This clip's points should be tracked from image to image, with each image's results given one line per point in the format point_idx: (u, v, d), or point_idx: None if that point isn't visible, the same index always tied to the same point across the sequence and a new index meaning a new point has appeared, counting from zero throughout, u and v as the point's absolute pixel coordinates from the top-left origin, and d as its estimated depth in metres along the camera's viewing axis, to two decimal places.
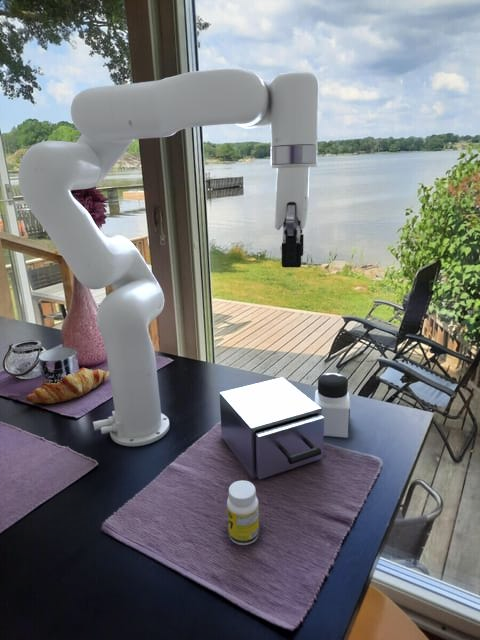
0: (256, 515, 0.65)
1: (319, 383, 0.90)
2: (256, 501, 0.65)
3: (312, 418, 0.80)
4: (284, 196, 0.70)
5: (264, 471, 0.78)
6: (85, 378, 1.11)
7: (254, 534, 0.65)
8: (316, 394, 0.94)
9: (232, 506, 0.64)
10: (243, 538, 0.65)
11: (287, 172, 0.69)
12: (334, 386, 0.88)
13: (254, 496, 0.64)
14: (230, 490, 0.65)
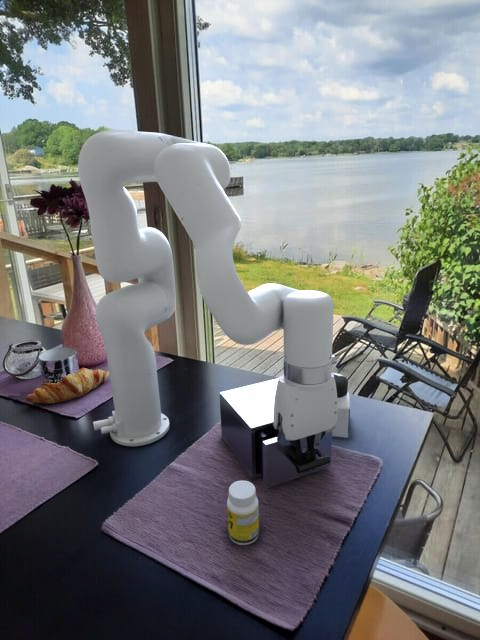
0: (256, 515, 0.65)
1: None
2: (256, 501, 0.65)
3: None
4: (276, 405, 0.71)
5: (271, 480, 0.76)
6: (85, 378, 1.11)
7: (254, 534, 0.65)
8: None
9: (232, 506, 0.64)
10: (243, 538, 0.65)
11: (279, 385, 0.69)
12: None
13: (254, 496, 0.64)
14: (230, 490, 0.65)
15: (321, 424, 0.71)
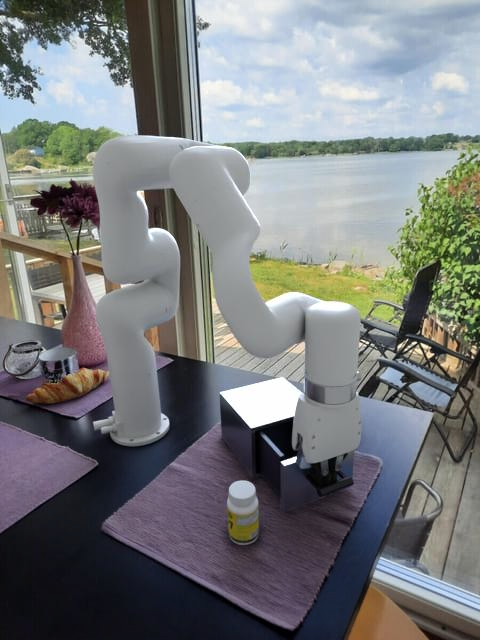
0: (256, 515, 0.65)
1: None
2: (256, 501, 0.65)
3: None
4: (296, 425, 0.65)
5: (289, 503, 0.70)
6: (85, 378, 1.11)
7: (254, 534, 0.65)
8: None
9: (232, 506, 0.64)
10: (243, 539, 0.65)
11: (300, 404, 0.64)
12: None
13: (254, 496, 0.64)
14: (230, 490, 0.65)
15: (344, 445, 0.66)
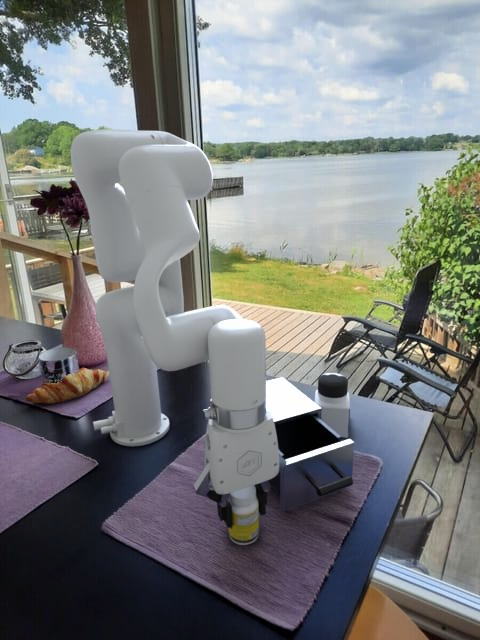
0: (256, 515, 0.65)
1: (319, 383, 0.90)
2: (256, 501, 0.65)
3: (341, 443, 0.73)
4: None
5: (289, 502, 0.70)
6: (85, 378, 1.11)
7: (254, 534, 0.65)
8: (316, 394, 0.94)
9: (232, 506, 0.64)
10: (243, 539, 0.65)
11: None
12: (334, 386, 0.88)
13: (254, 496, 0.64)
14: None
15: None
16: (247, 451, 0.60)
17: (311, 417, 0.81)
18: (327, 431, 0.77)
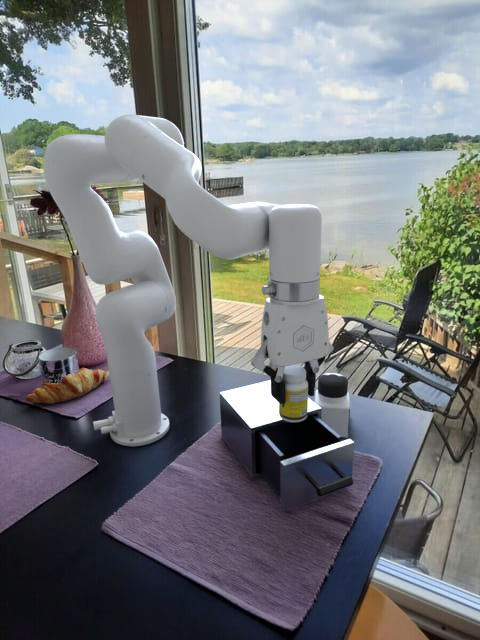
0: (306, 394, 0.71)
1: (319, 383, 0.90)
2: (306, 381, 0.71)
3: (341, 443, 0.73)
4: None
5: (289, 502, 0.70)
6: (85, 378, 1.11)
7: (304, 413, 0.71)
8: (316, 394, 0.94)
9: (285, 384, 0.70)
10: (294, 415, 0.71)
11: None
12: (334, 386, 0.88)
13: (305, 375, 0.70)
14: None
15: None
16: (302, 326, 0.66)
17: (311, 417, 0.81)
18: (327, 431, 0.77)
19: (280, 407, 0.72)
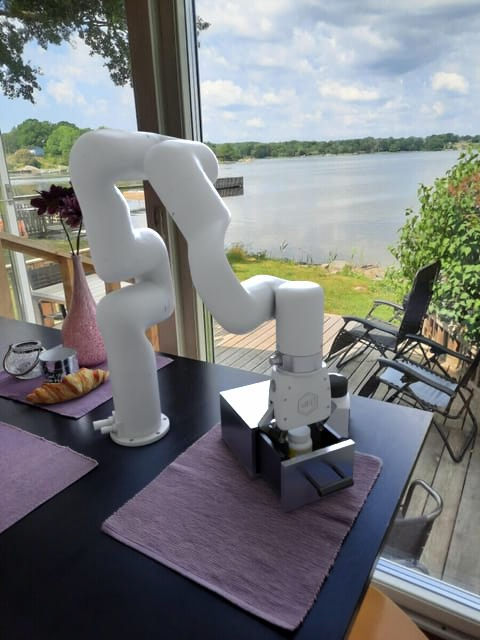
0: None
1: None
2: (310, 440, 0.76)
3: (342, 443, 0.72)
4: None
5: (290, 503, 0.70)
6: (85, 378, 1.11)
7: None
8: None
9: (291, 443, 0.75)
10: None
11: None
12: (334, 386, 0.88)
13: (309, 435, 0.75)
14: None
15: None
16: (306, 393, 0.71)
17: None
18: (327, 431, 0.77)
19: None
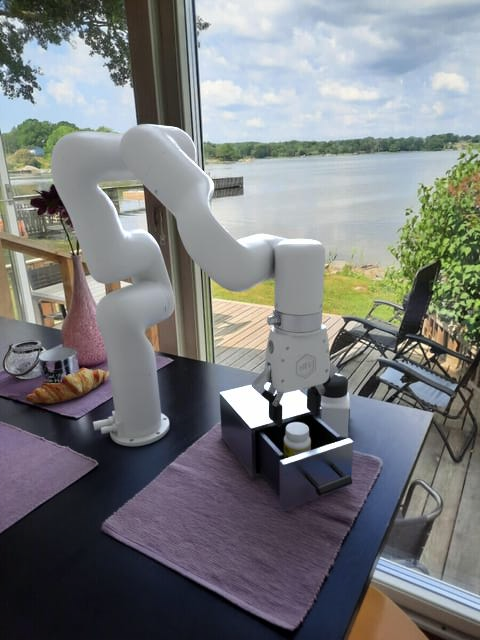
0: (309, 450, 0.76)
1: None
2: (309, 438, 0.76)
3: (340, 442, 0.73)
4: None
5: (288, 501, 0.71)
6: (85, 378, 1.11)
7: None
8: None
9: (289, 442, 0.75)
10: None
11: None
12: (334, 386, 0.88)
13: (308, 433, 0.75)
14: (287, 429, 0.76)
15: None
16: (305, 355, 0.69)
17: (310, 416, 0.82)
18: (326, 430, 0.77)
19: None
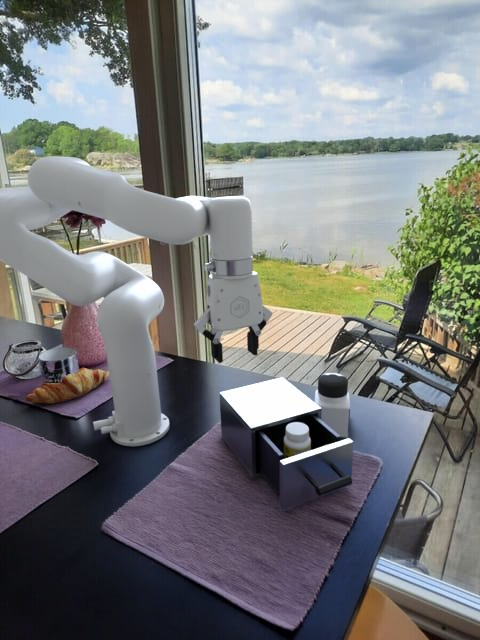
0: (309, 450, 0.76)
1: (319, 383, 0.90)
2: (309, 438, 0.76)
3: (340, 442, 0.73)
4: None
5: (288, 501, 0.71)
6: (85, 378, 1.11)
7: None
8: (316, 394, 0.94)
9: (289, 442, 0.75)
10: None
11: None
12: (334, 386, 0.88)
13: (308, 433, 0.75)
14: (287, 429, 0.76)
15: None
16: (238, 297, 0.80)
17: (310, 416, 0.82)
18: (326, 430, 0.77)
19: None
